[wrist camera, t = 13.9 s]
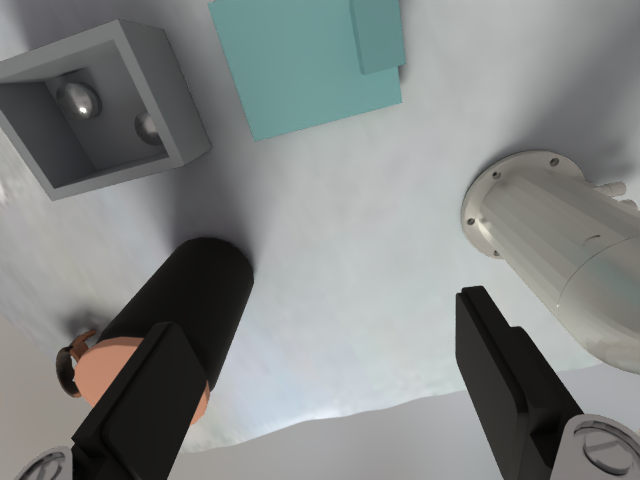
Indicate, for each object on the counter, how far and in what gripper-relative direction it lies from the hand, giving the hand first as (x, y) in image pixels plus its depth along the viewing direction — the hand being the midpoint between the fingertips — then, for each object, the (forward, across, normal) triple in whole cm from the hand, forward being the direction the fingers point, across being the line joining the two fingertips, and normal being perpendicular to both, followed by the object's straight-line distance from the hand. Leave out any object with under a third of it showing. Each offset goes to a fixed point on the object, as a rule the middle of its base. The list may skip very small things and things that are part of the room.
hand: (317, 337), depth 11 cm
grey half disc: (+25, +17, -6) cm, 31 cm away
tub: (+26, +20, -8) cm, 34 cm away
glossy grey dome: (+25, +23, -10) cm, 35 cm away
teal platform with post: (+26, 0, -9) cm, 28 cm away
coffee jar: (+26, +18, +12) cm, 34 cm away
